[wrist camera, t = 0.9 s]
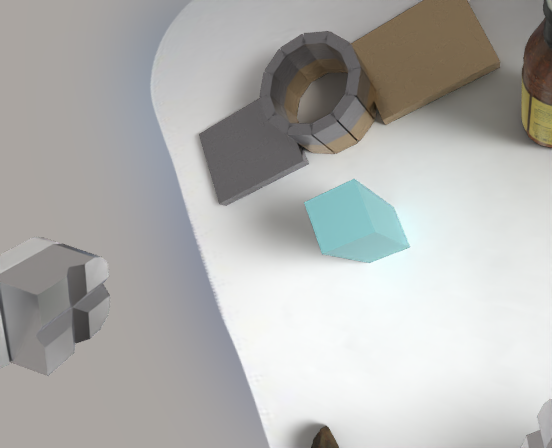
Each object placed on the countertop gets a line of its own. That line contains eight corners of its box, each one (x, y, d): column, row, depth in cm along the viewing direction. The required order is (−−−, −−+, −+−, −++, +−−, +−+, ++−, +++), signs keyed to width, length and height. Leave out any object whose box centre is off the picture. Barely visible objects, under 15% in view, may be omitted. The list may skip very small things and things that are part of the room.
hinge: (456, -14, 47) (448, -60, 41) (501, 70, 44) (501, 35, 38) (205, 135, 60) (170, 117, 53) (226, 208, 57) (192, 198, 50)
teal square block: (393, 207, 47) (354, 178, 35) (410, 247, 46) (375, 232, 34) (354, 224, 49) (303, 202, 36) (369, 262, 48) (322, 254, 35)
